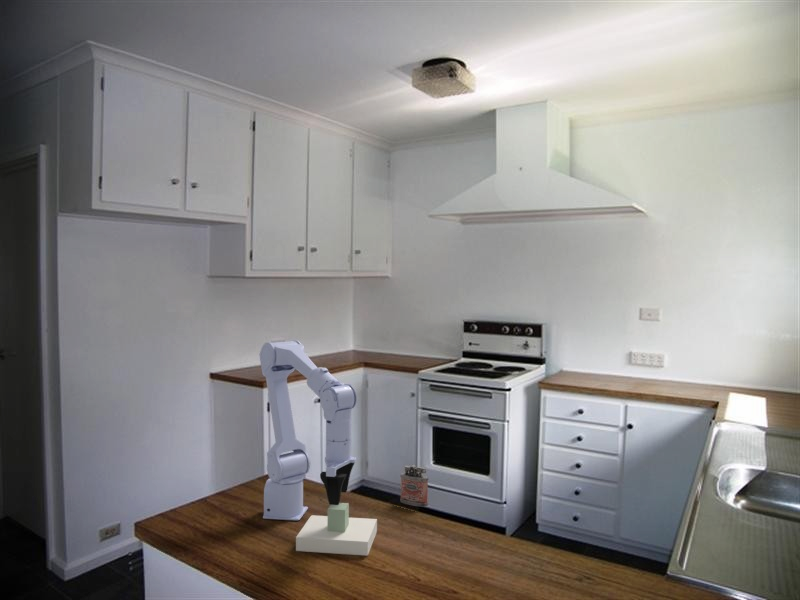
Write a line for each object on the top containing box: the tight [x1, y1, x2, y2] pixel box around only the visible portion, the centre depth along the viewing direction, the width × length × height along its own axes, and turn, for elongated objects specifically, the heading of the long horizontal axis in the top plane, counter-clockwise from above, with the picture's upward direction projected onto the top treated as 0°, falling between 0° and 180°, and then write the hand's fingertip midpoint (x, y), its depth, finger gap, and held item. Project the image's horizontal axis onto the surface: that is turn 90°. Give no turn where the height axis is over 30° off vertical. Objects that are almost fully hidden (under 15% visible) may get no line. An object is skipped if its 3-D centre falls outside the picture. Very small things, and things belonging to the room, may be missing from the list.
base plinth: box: [295, 514, 378, 557], centre depth 126 cm, size 16×12×3 cm
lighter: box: [399, 464, 429, 508], centre depth 149 cm, size 8×3×10 cm, turn 62°
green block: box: [327, 502, 350, 532], centre depth 126 cm, size 4×4×5 cm
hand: (338, 497), depth 126 cm, fingers open, 7 cm apart
